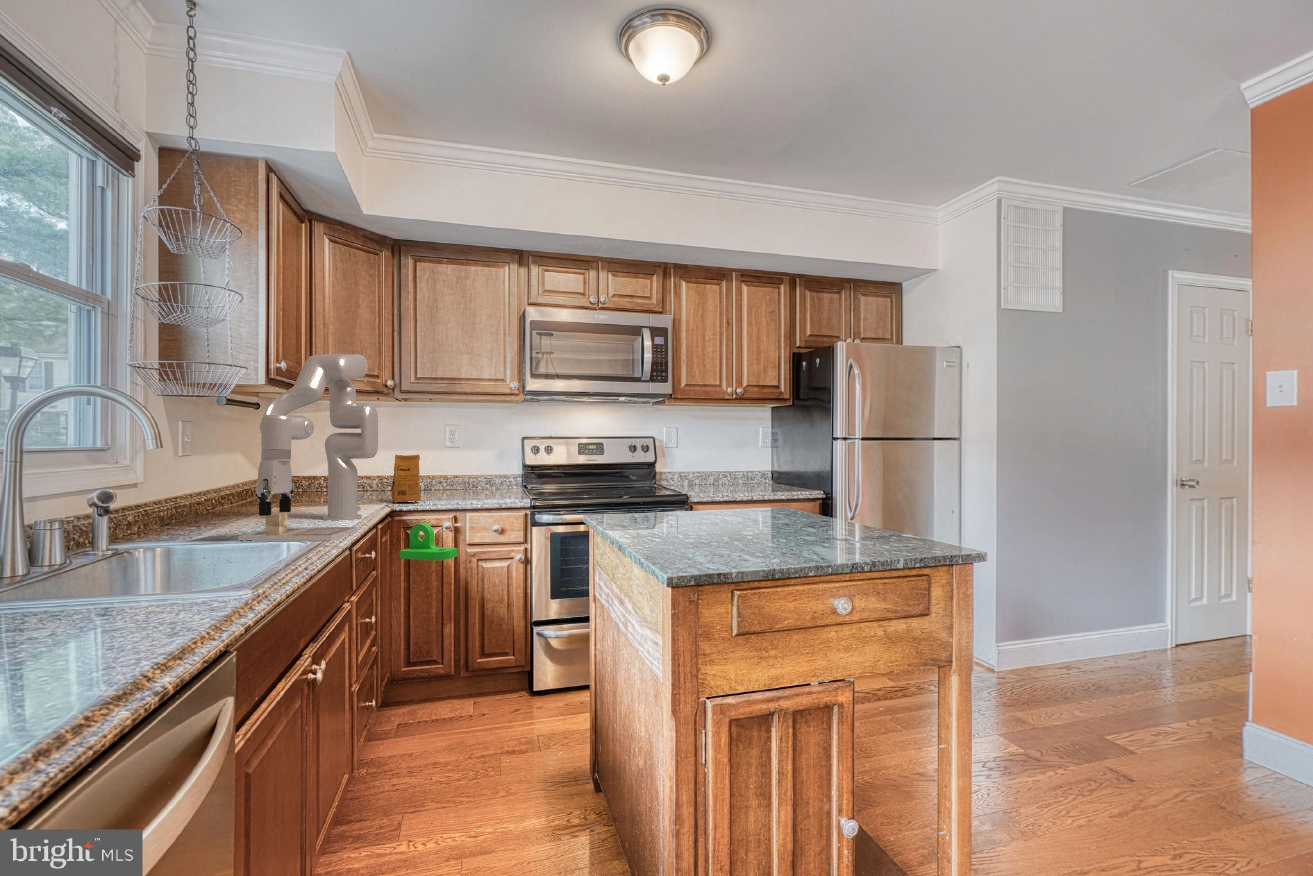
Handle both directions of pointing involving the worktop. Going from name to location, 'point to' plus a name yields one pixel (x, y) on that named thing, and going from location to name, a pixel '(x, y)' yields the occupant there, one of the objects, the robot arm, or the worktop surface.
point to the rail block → (302, 534)
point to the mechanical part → (426, 546)
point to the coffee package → (406, 479)
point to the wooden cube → (276, 523)
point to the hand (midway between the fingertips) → (275, 513)
